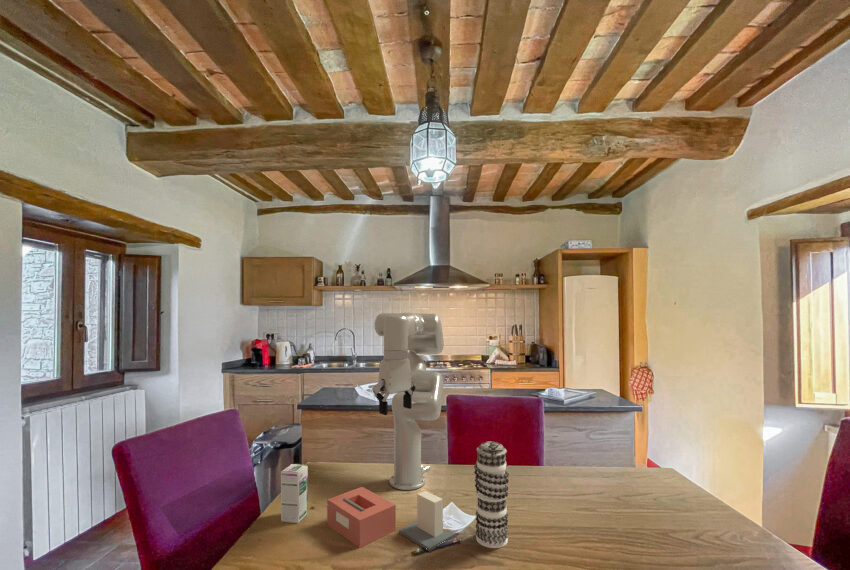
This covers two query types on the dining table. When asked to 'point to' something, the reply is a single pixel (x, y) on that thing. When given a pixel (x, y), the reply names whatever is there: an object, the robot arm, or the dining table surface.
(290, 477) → the syrup box
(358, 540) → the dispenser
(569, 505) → the dining table surface
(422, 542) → the coaster
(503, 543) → the white patterned cylinder
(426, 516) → the cream upright pillar
